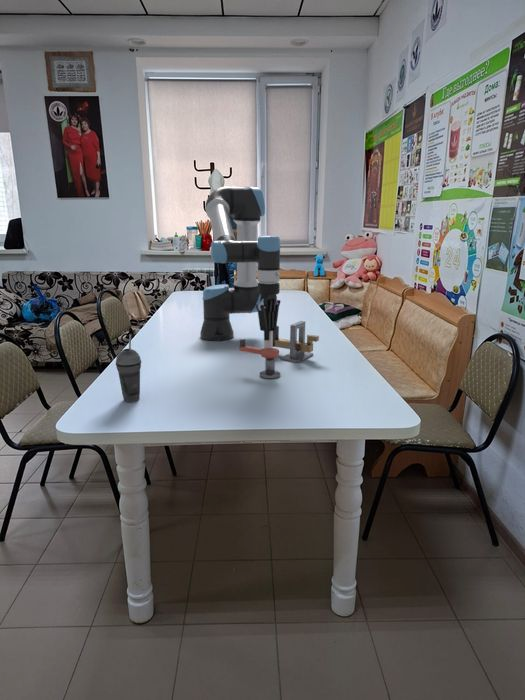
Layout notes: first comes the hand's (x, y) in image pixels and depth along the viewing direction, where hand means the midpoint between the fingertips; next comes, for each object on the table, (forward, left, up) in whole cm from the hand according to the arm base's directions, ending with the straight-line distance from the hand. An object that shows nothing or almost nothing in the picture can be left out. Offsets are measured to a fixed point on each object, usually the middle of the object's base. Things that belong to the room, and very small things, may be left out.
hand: (268, 348), depth 160 cm
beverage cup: (-19, -47, -8) cm, 51 cm away
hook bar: (+1, +17, -4) cm, 17 cm away
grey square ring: (+3, +17, -7) cm, 19 cm away
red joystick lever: (0, -7, 0) cm, 7 cm away
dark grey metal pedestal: (+5, -7, -7) cm, 11 cm away
